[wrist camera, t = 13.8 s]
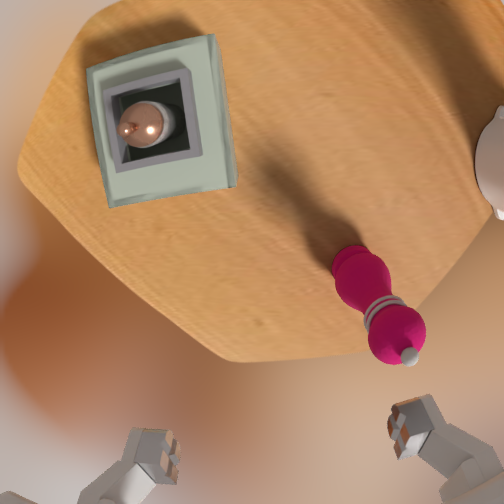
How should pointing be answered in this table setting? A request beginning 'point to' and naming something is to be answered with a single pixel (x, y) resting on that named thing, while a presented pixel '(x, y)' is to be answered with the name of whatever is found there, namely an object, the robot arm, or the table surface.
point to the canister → (151, 123)
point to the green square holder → (174, 150)
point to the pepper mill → (378, 306)
